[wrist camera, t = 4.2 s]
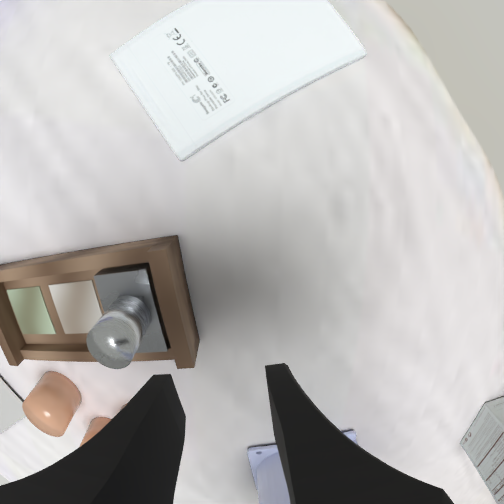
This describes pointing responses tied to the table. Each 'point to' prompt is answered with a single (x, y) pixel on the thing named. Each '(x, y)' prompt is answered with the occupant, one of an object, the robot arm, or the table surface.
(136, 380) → the table surface
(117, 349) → the slider
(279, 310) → the table surface
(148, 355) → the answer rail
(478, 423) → the supplement box
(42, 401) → the peach domed cylinder
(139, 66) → the external hard drive
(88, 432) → the peach rounded cylinder
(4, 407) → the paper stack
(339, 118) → the table surface
